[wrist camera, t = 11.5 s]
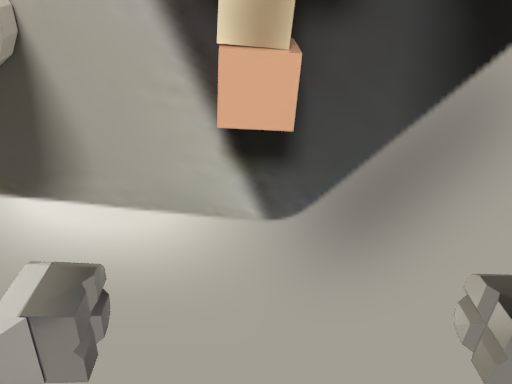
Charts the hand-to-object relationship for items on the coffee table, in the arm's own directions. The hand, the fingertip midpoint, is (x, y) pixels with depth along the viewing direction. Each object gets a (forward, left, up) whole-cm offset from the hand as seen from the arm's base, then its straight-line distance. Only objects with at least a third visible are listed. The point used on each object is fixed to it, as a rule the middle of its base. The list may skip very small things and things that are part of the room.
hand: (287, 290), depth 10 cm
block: (0, 0, -21) cm, 21 cm away
